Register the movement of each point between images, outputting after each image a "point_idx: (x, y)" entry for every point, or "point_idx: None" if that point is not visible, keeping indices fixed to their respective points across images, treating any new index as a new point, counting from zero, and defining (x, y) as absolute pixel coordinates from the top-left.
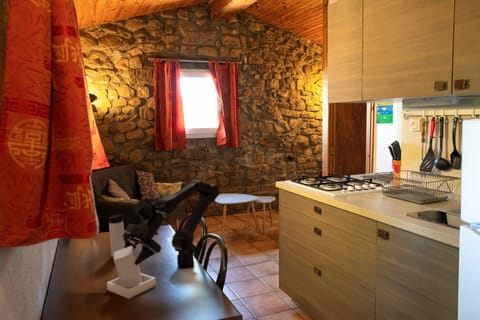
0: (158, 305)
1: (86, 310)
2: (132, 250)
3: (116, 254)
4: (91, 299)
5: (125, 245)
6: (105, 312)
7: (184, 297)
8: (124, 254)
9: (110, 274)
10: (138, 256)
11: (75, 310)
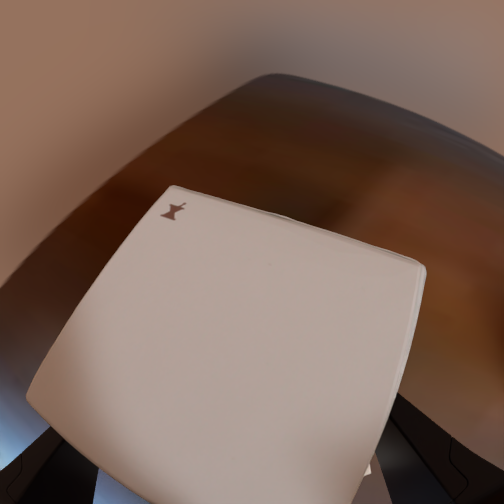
0: (11, 361)
1: (189, 150)
2: (111, 470)
3: (288, 252)
4: (271, 190)
5: (481, 479)
6: (115, 194)
7: (3, 457)
8: (135, 321)
9: (487, 363)
10: (46, 449)
11: (223, 126)
